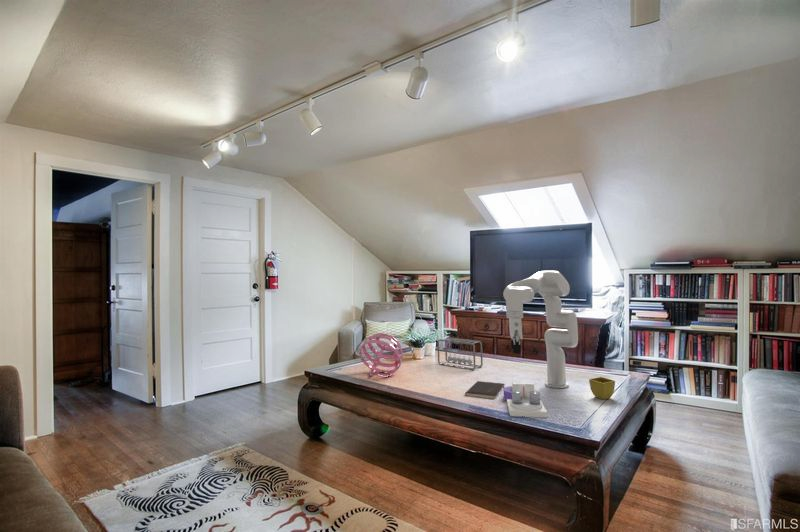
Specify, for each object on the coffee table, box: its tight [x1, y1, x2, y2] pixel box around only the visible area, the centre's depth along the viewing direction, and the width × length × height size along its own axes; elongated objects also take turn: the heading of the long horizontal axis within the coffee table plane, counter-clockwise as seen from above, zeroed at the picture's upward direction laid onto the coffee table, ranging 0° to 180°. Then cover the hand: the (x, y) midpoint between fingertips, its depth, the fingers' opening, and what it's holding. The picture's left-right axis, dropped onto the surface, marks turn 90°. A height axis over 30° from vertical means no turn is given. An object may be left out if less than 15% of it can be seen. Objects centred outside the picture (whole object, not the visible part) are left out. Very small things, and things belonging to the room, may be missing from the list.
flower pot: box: [588, 376, 616, 400], centre depth 204 cm, size 9×9×9 cm
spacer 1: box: [512, 391, 522, 404], centre depth 189 cm, size 5×5×5 cm
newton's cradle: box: [437, 337, 484, 370], centre depth 278 cm, size 30×10×18 cm, turn 49°
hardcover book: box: [464, 380, 505, 400], centre depth 220 cm, size 16×23×2 cm
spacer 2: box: [530, 390, 541, 405], centre depth 188 cm, size 5×5×5 cm
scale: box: [506, 382, 548, 418], centre depth 190 cm, size 18×16×10 cm
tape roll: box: [502, 385, 513, 401], centre depth 206 cm, size 12×12×5 cm
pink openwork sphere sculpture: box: [358, 332, 404, 378], centre depth 258 cm, size 28×28×27 cm
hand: (515, 351), depth 190 cm, fingers open, 9 cm apart
